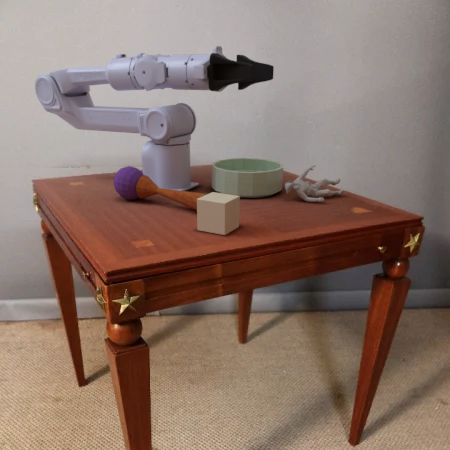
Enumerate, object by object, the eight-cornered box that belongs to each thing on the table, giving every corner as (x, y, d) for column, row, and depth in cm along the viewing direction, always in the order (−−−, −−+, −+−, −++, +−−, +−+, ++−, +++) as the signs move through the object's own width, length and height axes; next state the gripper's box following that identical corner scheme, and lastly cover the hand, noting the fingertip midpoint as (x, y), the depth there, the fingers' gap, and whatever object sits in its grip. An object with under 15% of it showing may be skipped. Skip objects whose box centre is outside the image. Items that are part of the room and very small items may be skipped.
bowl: (199, 193, 99) (199, 167, 97) (232, 179, 110) (232, 155, 107) (264, 202, 93) (265, 175, 91) (291, 187, 104) (293, 162, 102)
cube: (197, 230, 79) (196, 198, 76) (212, 222, 83) (212, 191, 80) (224, 235, 77) (225, 203, 74) (239, 226, 81) (240, 195, 78)
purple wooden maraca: (194, 194, 82) (104, 170, 91) (196, 226, 86) (110, 200, 94) (214, 180, 86) (125, 159, 94) (215, 212, 90) (130, 188, 98)
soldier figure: (348, 204, 96) (305, 192, 89) (329, 217, 100) (287, 206, 93) (338, 170, 98) (296, 156, 91) (320, 184, 102) (278, 171, 95)
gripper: (170, 44, 82) (243, 42, 76) (215, 48, 93) (281, 47, 87) (172, 92, 85) (242, 93, 80) (215, 90, 97) (279, 91, 91)
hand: (263, 72), depth 84 cm, fingers open, 7 cm apart
